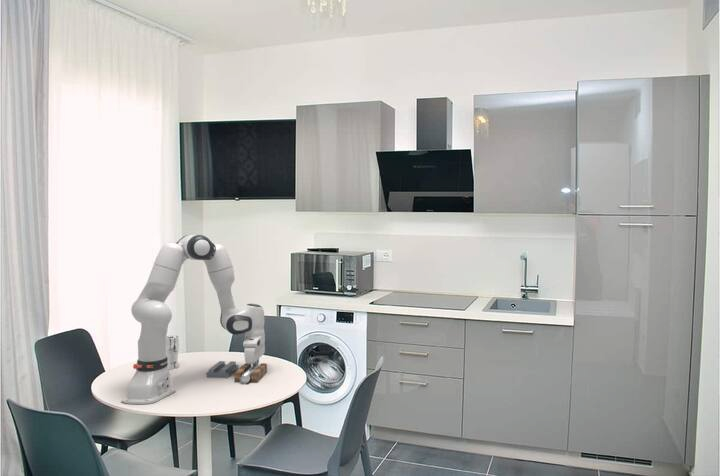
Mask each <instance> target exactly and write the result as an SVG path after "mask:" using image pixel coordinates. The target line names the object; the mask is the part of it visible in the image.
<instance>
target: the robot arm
mask: <svg viewBox="0 0 720 476" xmlns="http://www.w3.org/2000/svg"><path fill="white" fill-rule="evenodd" d="M188 259H190V260H193V261H198V260H199V261H203V263H204V265H205V266H206V270H207V275H208V277H209V280H210V283H211V284H212V286H213V288H214V290H215V292H216V294H217V298H218V304H219V307H220V317H219V323H220V325H221V327H222V328H223V329H224V330H226V331H227V332H228V333H229V334H231V335H236V336H237V335H241V334H245V335H244V340H243V342H242V347H243V349H244V351H243V353H244V363H246V364H251V365H258V366H259V362H260V358H262V356H263V355H265V352H266V346H265V343H266V339H265V338H266V333H265V331H266V330H265V328H264V327H265V311H264V308H263V306H261V305H259V304H257V303H246V305H245V306H243V307H242V308H240V309H237V307H236V306H235V302H234V301H235V300H234V297H233V294H232V286H233V283H234V282H235V280H236V279H235V271H234V270H235V269H234V267H233V263H232V259H231V257H230V254H229V253H228V250H227V248H226V246H224V245H223V244H222V243H221V244H220V243H213V242H212V241H211V240H210V238H208V237H207V236H205V235H203V234H198V233H191V234H186V235H184V236H182V237H181V238H179V240H178V241H177V242H166V243H165V244H163V245H162V247H160V250H159V251H158V253H157V255H156V258H155V260H154V262H153V265H152V268H151V271H150V273H149V275H148V279H147V281H146V284H145V285H144V287H143V289H142V290H141V292H140V294H139V295H138V297H137V298H136V300H135V301H134V302H133V303H132V305H131V310H130V311H131V315H132V316H133V319H135V321H137V322H138V323H140V324H141V328H140V329H141V330H140V334H139V338H138V340H137V357H138V358H137V361H136V363H133V366H132V368H133V370H135V372H134V374H133V376H132V378H131V380H130V382H129V383H128V385H127V394H125V396H123V397H122V399H121V401H120V402H121V403H122V402H123V404H129V405H149V404H154V403H156V402H158V401H160V400H162V399H164V398H166V397H168V396H170V395H172V394H174V393H176V389H175V388H174V387H173V381H172V372H171V371H170V369H168V368H167V365H168V359H167V356H166V336H168V330H169V324H170V323H171V321H172V317H173V314H172V310H171V309H170V307H169V306H168V305H167V304H166V303H165V302H166V300H167V299H168V297H169V296H170V294H171V293H172V292H173V291H174V290H175V287H176V284H177V281H178V279H179V276H180V272H181V269H182V267H183V264H184V263H185V261H186V260H188Z"/></svg>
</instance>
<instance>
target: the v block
mask: <svg viewBox="0 0 720 476" xmlns="http://www.w3.org/2000/svg"><path fill="white" fill-rule="evenodd" d="M225 362H226V361H223V360H220V361H218V362H217V363H216V364H214V365H212V366H211V367H210V368H209V369H208V371H207V372H206V378H207V379H208V378H210V379H211V378H212V379H213V378H215V379H216V378H217V379H229V378H230V377H231V376H232V375H234V373H235V372H236V371H237V370H239V364H237V362H236V361H235V360H234V361H229V362H228V363H227V364H226V363H225Z"/></svg>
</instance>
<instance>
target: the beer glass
mask: <svg viewBox="0 0 720 476" xmlns="http://www.w3.org/2000/svg"><path fill="white" fill-rule="evenodd" d="M179 341H180V340H179V336H178V335H174V334H172V335H166V356H167V359H168V365H167V368H168V370H175V369H178V368H179V361H178V357H179V350H180V342H179Z"/></svg>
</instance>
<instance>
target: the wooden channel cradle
mask: <svg viewBox="0 0 720 476" xmlns="http://www.w3.org/2000/svg"><path fill="white" fill-rule="evenodd" d="M251 366H252V364H246V362H244V364H243V365H241V366H240V368H238V370H237V371H235V372H234V373H233V375H234V376H233V377H234V383H235V384H236V383H238V384H239V383H241V382H240V377H241V376H242V375H243V374H244V373H245V372H246V371H247V370H248V369H249V368H250V367H251ZM267 373H268V364H267V363H265V362H264V363H262V362H261V363H260V365H259V364H258V367H257V368H256V369H255V370H254V371H253V372H252V373H251V380H250V381H249V382H248V383H247V384H258V383H259V382H260V380H261V379H262V378H263V377H264V376H265V375H266V374H267ZM241 384H242V383H241Z"/></svg>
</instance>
